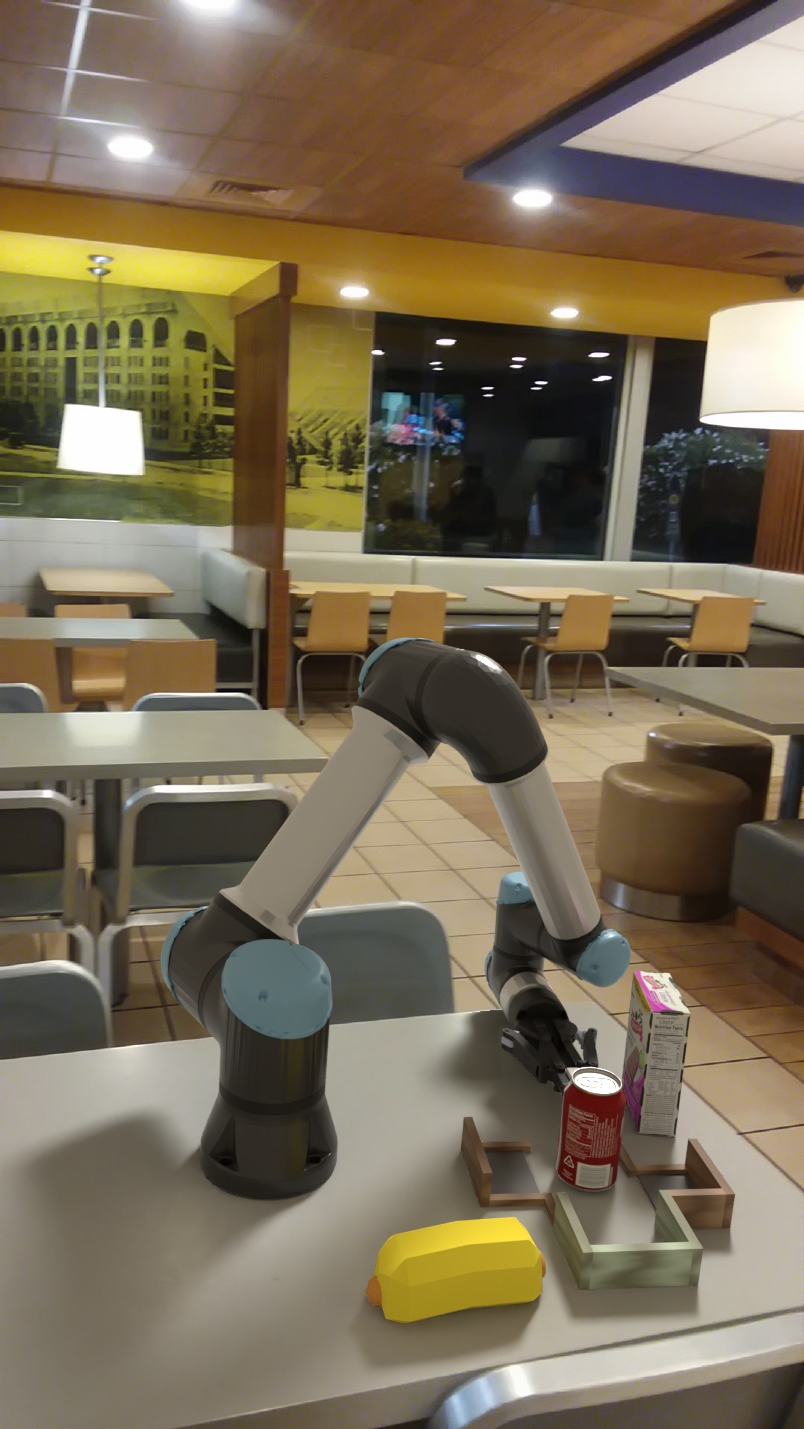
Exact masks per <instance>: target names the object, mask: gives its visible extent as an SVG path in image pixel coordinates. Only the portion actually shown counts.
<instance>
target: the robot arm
mask: <svg viewBox="0 0 804 1429" xmlns="http://www.w3.org/2000/svg"><path fill="white" fill-rule="evenodd" d="M358 681H359V687H358V688H357V689H358V691H357V692H358V697H359V698H358V699H357V700H356V702H355V704H353V706H352V707H351V709H350V710H351V714H352V715H351V716H352V723H353V725H352V729H350V731H349V732H348V734H347V735H346V736H345V737H344V740H343V741H342V742H341V744H340V745H339V746H338V747H337V749H336V750H335V752H334V753H333V754H332V756H331V757H330V759H329V760H328V761H327V763H326V764H325V765H324V767H323V768H322V770H321V771H320V773H319V774H318V775H317V777H316V778H315V779H314V781H313V782H312V784H311V785H310V787H308V789H307V790H306V791H305V793H304V795H303V796H302V798H301V799H300V800H299V802H298V803H297V804H296V806H295V807H294V809H293V810H292V811H291V813H290V814H289V816H288V817H287V818H286V820H285V821H284V823H283V824H282V826H281V827H280V828H279V829H278V831H277V832H276V833H275V835H274V836H273V838H272V839H271V841H270V842H269V843H268V844H267V846H266V847H265V849H264V850H263V851H262V853H261V855H260V856H259V857H258V858H257V859H256V861H255V863H254V864H253V865H252V867H251V869H250V870H249V871H248V873H247V874H246V875H245V877H244V878H243V879H242V881H241V882H240V883H239V884H237V885H236V886H234V887H233V886H232V887H227V888H226V887H225V888H222V889H220V890H219V891H218V893H217V894H216V896H215V897H214V898H213V899H212V901H211V902H210V903H209V905H205V906H200V907H198V908H197V909H195V910H192V909H191V910H189V911H187V912H186V913H185V914H183V915H182V916H180V917H179V918H178V919H177V920H176V921H175V923H173V925H172V926H171V928H170V929H169V930H168V933H167V934H166V935H165V939H164V941H163V944H162V946H161V947H162V948H161V953H160V969H161V974H162V978H163V981H164V984H165V985H166V986H167V988H168V990H169V991H170V993H171V994H172V997H173V998H174V999H175V1001H176V1002H177V1004H178V1005H179V1006H180V1007H181V1008H182V1009H184V1010H186V1011H187V1012H188V1013H189V1014H190V1015H191V1016H192V1017H193V1018H194V1019H195V1020H196V1021H197V1022H198V1023H199V1025H201V1026H202V1028H203V1029H205V1030H206V1031H207V1033H208V1034H209V1035H211V1037H213V1039H215V1041H216V1042H217V1043H218V1044H219V1051H220V1052H219V1053H220V1054H219V1078H218V1080H219V1082H218V1093H217V1096H216V1098H215V1100H214V1103H213V1106H212V1108H211V1111H210V1113H209V1116H208V1119H207V1120H206V1124H205V1126H204V1129H203V1131H202V1134H201V1138H200V1144H199V1145H200V1149H199V1164H200V1168H201V1170H202V1172H203V1173H204V1175H205V1177H206V1178H207V1179H208V1180H209V1181H210V1182H211V1183H212V1184H214V1185H215V1186H217V1187H218V1188H220V1189H222V1190H224V1192H225V1191H226V1192H228V1193H230V1194H233V1195H237V1196H239V1197H245V1198H249V1199H257V1200H277V1199H286V1198H290V1197H295V1196H299V1195H302V1194H305V1193H307V1192H310V1191H311V1190H313V1189H315V1188H317V1187H319V1186H321V1184H323V1183H324V1182H325V1181H326V1180H328V1179H329V1177H330V1176H331V1175H332V1173H333V1172H334V1171H335V1169H336V1166H337V1159H338V1145H339V1144H338V1143H339V1142H338V1135H337V1134H338V1133H337V1131H336V1128H335V1123H334V1120H333V1117H332V1113H331V1110H330V1106H329V1103H328V1100H327V1096H326V1086H327V1085H326V1084H327V1081H326V1079H327V1071H328V1070H327V1067H328V1057H329V1056H328V1054H329V1040H330V1038H329V1036H330V1025H331V1013H332V1010H333V1003H334V1002H333V992H332V978H331V973H330V970H329V968H328V966H327V964H326V962H325V961H324V960H323V959H322V957H321V956H320V955H318V954H317V953H316V952H315V951H313V950H312V949H310V948H308V947H306V946H304V945H301V944H300V941H299V934H298V927H299V925H300V923H302V921H303V919H304V918H305V916H306V915H307V913H308V911H309V910H310V909H311V908H312V906H313V905H314V903H315V902H316V901H317V899H318V898H319V896H320V894H321V893H322V892H323V890H325V889H324V888H325V887H326V886H327V884H328V883H329V882H330V881H331V879H332V878H333V876H334V874H335V873H337V871H338V869H339V867H340V866H341V865H342V863H343V862H344V861H345V859H346V857H347V856H348V855H349V853H350V852H351V850H352V849H353V847H354V846H355V844H357V841H358V840H359V839H360V837H361V836H362V835H363V833H364V832H365V830H366V829H367V827H369V825H370V823H371V822H372V820H373V818H374V817H375V816H376V815H377V813H378V812H379V810H380V809H381V807H382V806H383V805H384V803H385V801H386V800H387V799H388V797H389V796H390V795H391V793H392V792H393V791H394V789H395V788H396V786H397V784H398V783H399V781H400V780H401V779H402V778H403V776H404V774H406V772H407V770H408V769H409V768H410V767H412V766H417V765H422V764H427V763H428V762H429V761H430V759H431V757H432V756H433V754H434V753H435V752H436V750H437V749H438V747H439V746H440V744H441V743H442V744H446V745H448V746H449V747H450V748H452V749H453V750H455V751H456V752H457V753H458V754H459V755H460V756H461V757H462V758H463V759H464V760H465V761H466V763H467V764H468V766H469V769H470V771H471V774H472V777H473V778H474V779H475V780H476V781H477V782H478V783H480V784H482V785H486V788H487V791H488V793H489V795H490V797H491V800H492V803H493V804H494V806H495V809H496V812H497V814H498V816H499V820H500V821H501V824H502V826H503V829H504V831H505V834H506V836H507V838H508V840H509V843H510V846H511V848H512V850H513V852H514V855H515V857H516V860H517V862H518V865H519V867H520V870H521V871H514V872H510V873H509V872H508V873H507V874H505V875H504V876H503V877H502V878H501V880H500V882H499V888H498V896H497V900H496V903H495V904H496V910H495V924H494V938H493V939H494V940H493V946H492V949H490V951H489V952H488V954H487V956H486V957H485V961H484V964H483V966H484V967H483V969H484V973H485V974H484V975H485V978H486V982H487V983H488V987H489V989H490V991H491V992H492V994H493V995H494V997H495V999H496V1000H497V1002H498V1004H499V1007H500V1008H501V1010H502V1012H503V1014H504V1016H505V1018H506V1020H507V1022H508V1025H509V1026H510V1027H509V1028H508V1027H505V1028H502V1033H501V1041H500V1042H501V1043H500V1049H502V1050H504V1051H505V1052H507V1053H509V1054H511V1056H513V1057H514V1059H515V1060H516V1061H517V1062H519V1063H520V1065H522V1067H523V1068H524V1069H525V1070H526V1071H528V1073H529V1074H530V1075H531V1076H532V1077H533V1078H534V1079H535V1080H536V1081H537V1083H539V1084H541V1085H546V1084H549V1082H551V1083H553V1092H555V1093H559V1094H561V1096H562V1097H563V1095H564V1088H565V1086H566V1085H567V1084H568V1082H569V1081H570V1080H571V1076H572V1073H573V1072H574V1071H575V1070H577V1069H580V1068H584V1067H595V1068H599V1064H600V1063H599V1058H598V1057H599V1056H598V1053H597V1047H596V1045H597V1039H598V1029H597V1028H594V1027H588V1029H587V1030H579V1028H578V1026H577V1025H576V1023H574V1022H572V1021H571V1020H570V1018H569V1015H568V1012H567V1010H566V1008H565V1007H564V1005H563V1004H562V1001H560V998H558V995H557V993H556V992H555V990H554V989H553V987H552V986H551V985H550V983H549V982H548V979H547V978H546V976H545V974H544V969H545V967H544V966H545V960H547V961H549V962H551V963H553V964H555V965H556V966H558V967H560V968H561V969H563V970H564V971H566V972H568V973H570V975H571V974H572V975H573V976H575V977H576V978H577V979H578V980H580V981H585V982H586V983H589V984H590V985H592V986H595V987H597V988H608V987H611V986H613V985H615V984H616V983H617V982H618V981H619V980H620V979H621V978H623V976H624V975H625V973H626V972H627V970H628V968H629V965H630V962H631V957H632V956H631V955H632V952H631V946H630V944H629V941H628V940H627V938H625V937H624V936H623V935H622V934H620V933H618V931H617V930H615V929H613V928H609V927H608V926H607V924H606V922H605V919H604V917H603V915H602V913H601V910H600V906H599V904H598V901H597V898H596V896H595V894H594V891H593V888H592V886H591V882H590V880H589V877H588V874H587V872H586V869H585V867H584V864H583V861H582V858H581V856H580V853H579V850H578V847H577V844H576V842H575V840H574V837H573V834H572V833H571V832H572V831H571V829H570V827H569V824H568V821H567V818H566V816H565V814H564V810H563V808H562V805H561V803H560V800H559V798H558V795H557V792H556V789H555V787H554V785H553V784H554V783H553V781H552V779H551V776H550V774H549V770H548V767H547V765H546V760H547V758H548V756H549V746H548V744H547V742H546V738H545V736H544V734H543V731H542V728H541V726H540V724H539V720H538V719H537V716H536V715H535V713H534V711H533V709H532V707H531V705H530V703H529V701H528V700H527V698H526V696H525V695H524V693H523V692H522V690H521V688H520V687H519V686H518V684H517V682H516V681H515V679H513V678H512V676H511V675H510V674H509V672H508V671H507V670H506V669H504V668H503V666H502V665H501V664H500V663H498V662H496V661H495V660H494V659H493V658H491V657H489V656H487V655H486V654H483V653H480V652H477V651H472V650H469V649H468V650H467V649H463V648H462V649H461V648H458V647H453V646H451V645H450V646H449V645H446V644H442V643H438V642H437V641H434V640H433V639H429V638H421V637H400V638H395V639H391V640H389V641H386V642H384V643H383V644H381V645H380V646H378V647H377V648H376V649H375V650H374V651H372V652H371V654H370V655H369V656H368V657H367V659H366V660H365V662H364V663H363V666H362V668H361V671H360V673H359V676H358ZM575 1041H577V1042H578V1044H579V1045H580V1050H582V1057H581V1055H580V1054H579V1052H578V1051H577V1050H578V1049H577V1048H576V1047H575V1045H574V1043H575Z"/></svg>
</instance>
